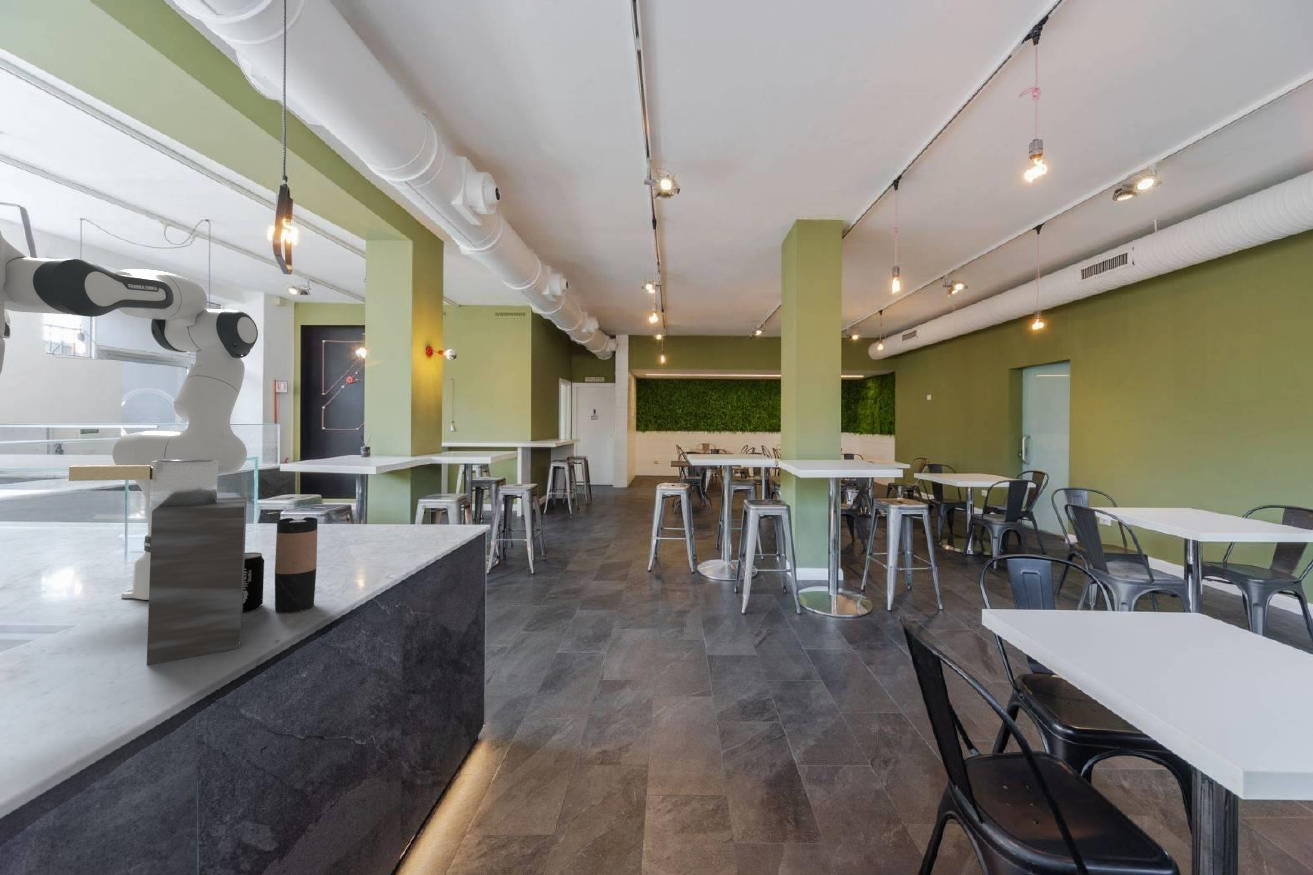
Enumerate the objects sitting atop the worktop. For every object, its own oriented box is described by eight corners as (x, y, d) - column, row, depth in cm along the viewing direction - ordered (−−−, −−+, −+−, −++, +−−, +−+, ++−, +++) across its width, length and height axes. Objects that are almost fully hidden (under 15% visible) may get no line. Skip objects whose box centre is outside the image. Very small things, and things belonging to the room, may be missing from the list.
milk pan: (77, 505, 87) (79, 458, 87) (218, 500, 98) (219, 458, 98) (61, 512, 80) (63, 461, 80) (214, 505, 91) (216, 461, 91)
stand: (162, 633, 96) (166, 499, 96) (242, 621, 104) (246, 497, 104) (146, 664, 84) (152, 511, 84) (239, 648, 91) (244, 506, 91)
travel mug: (293, 615, 108) (296, 523, 108) (264, 611, 110) (267, 521, 110) (323, 604, 115) (326, 518, 116) (296, 600, 117) (298, 516, 117)
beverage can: (269, 607, 112) (270, 554, 112) (234, 616, 106) (236, 560, 107) (252, 602, 115) (254, 550, 115) (218, 610, 109) (219, 556, 109)
